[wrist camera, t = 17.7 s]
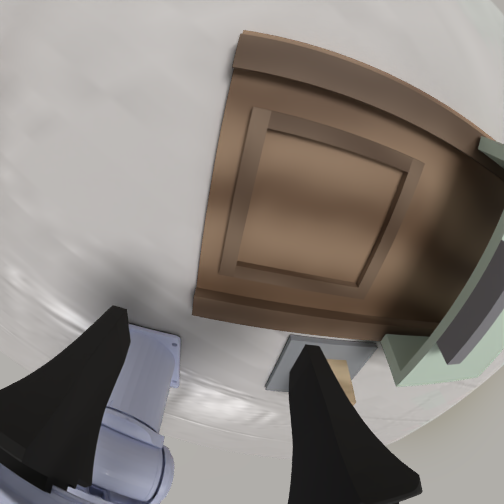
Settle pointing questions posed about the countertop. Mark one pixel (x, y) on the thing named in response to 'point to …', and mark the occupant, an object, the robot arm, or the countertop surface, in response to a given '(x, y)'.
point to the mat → (331, 349)
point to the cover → (459, 320)
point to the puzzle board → (340, 198)
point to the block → (343, 377)
